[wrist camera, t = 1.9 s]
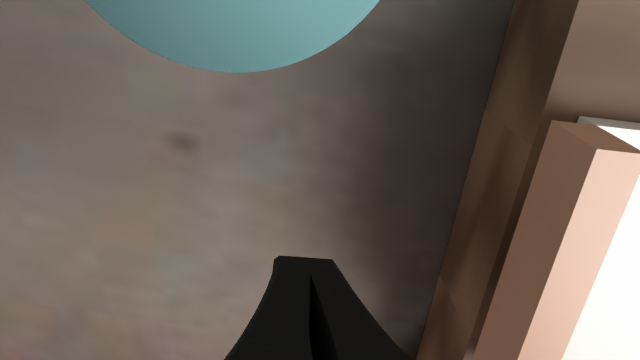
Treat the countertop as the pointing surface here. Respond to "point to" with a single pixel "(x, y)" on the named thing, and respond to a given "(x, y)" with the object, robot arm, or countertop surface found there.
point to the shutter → (573, 252)
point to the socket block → (527, 144)
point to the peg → (234, 29)
